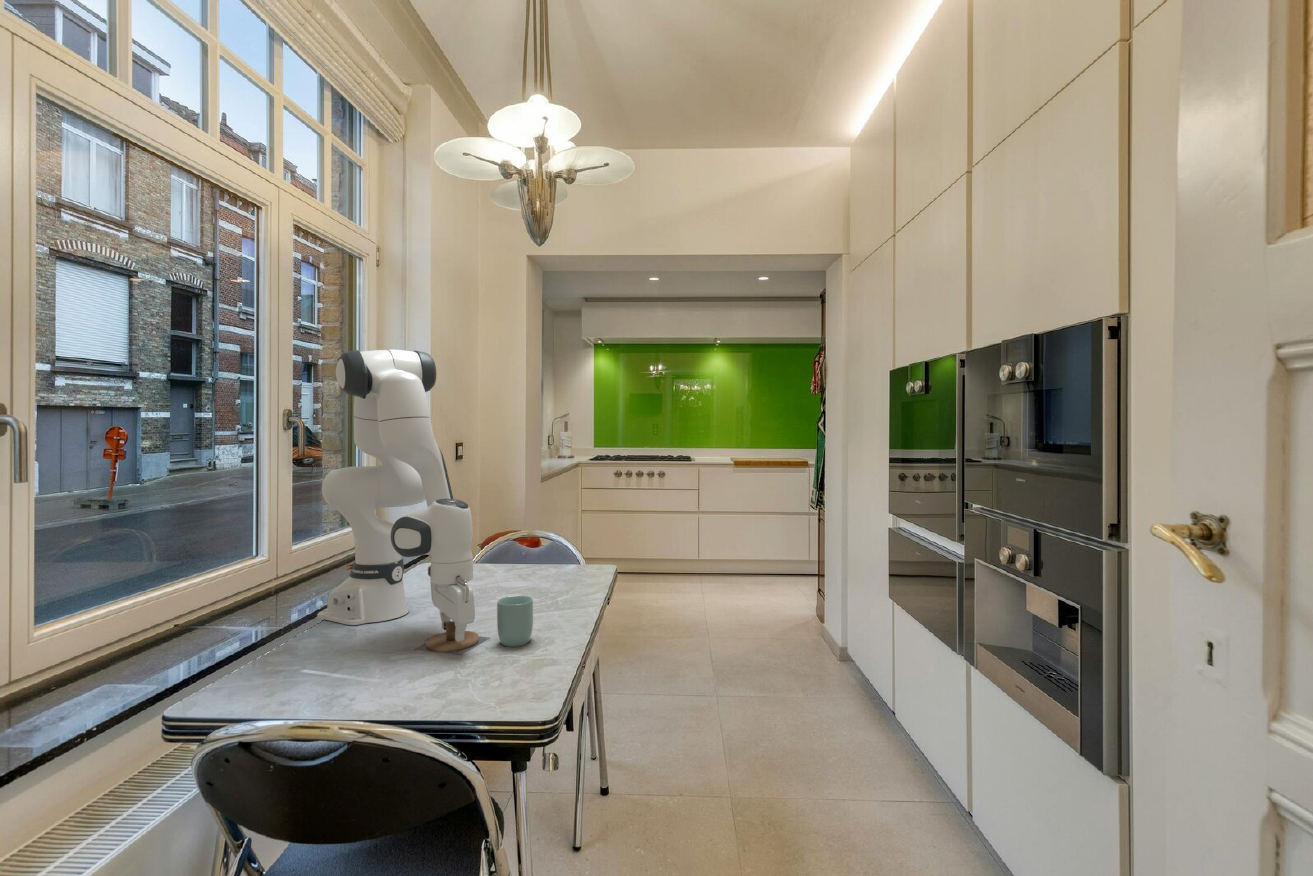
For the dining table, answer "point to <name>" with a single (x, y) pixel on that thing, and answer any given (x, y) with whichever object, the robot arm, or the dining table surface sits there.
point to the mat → (481, 640)
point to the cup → (515, 620)
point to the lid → (451, 640)
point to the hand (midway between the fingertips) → (452, 634)
